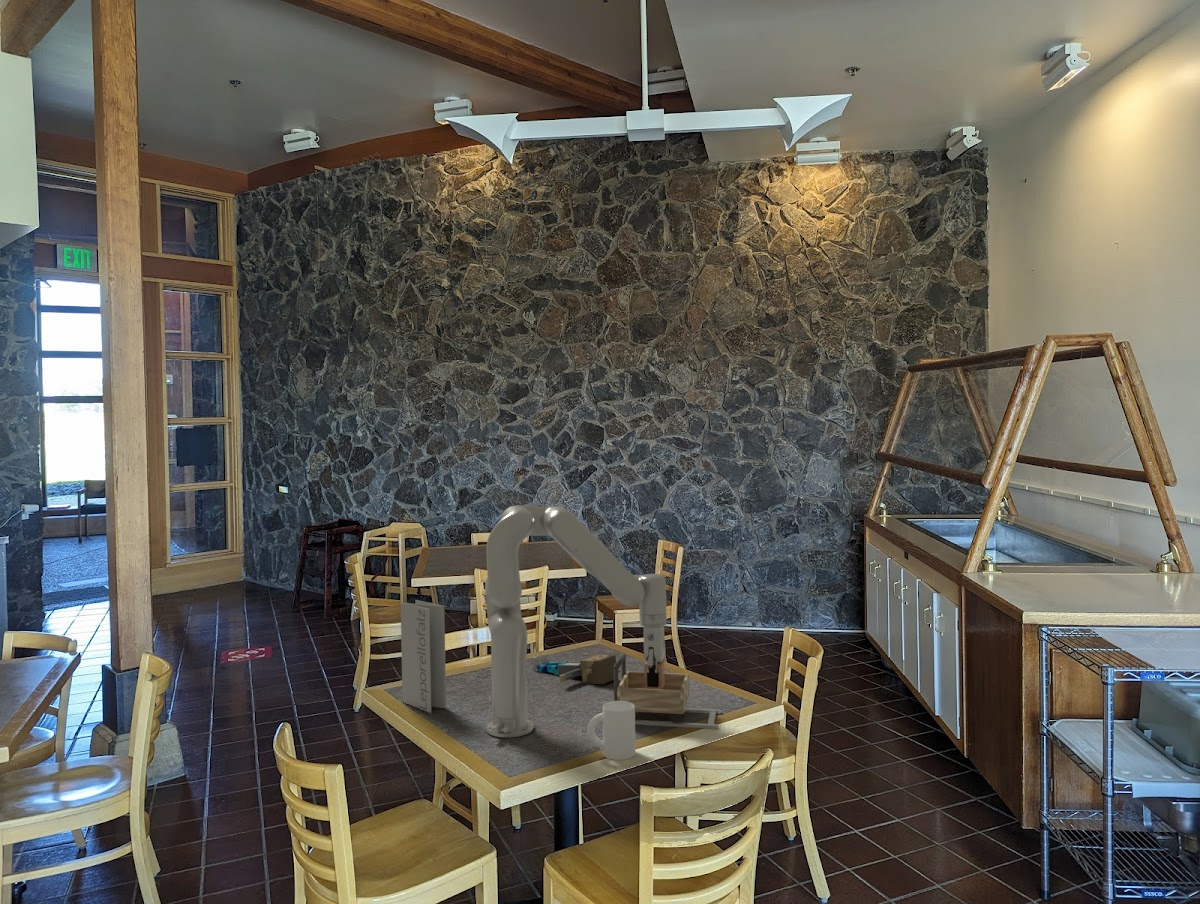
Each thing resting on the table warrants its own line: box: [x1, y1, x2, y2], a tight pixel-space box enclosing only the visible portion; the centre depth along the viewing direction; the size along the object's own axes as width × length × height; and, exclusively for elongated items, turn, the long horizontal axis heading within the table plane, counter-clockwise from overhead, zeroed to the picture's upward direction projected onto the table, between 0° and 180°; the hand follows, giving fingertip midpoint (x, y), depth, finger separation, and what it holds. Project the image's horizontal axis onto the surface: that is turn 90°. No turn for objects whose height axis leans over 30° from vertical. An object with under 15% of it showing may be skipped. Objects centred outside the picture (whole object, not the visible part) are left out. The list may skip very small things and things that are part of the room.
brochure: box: [400, 599, 447, 714], centre depth 241 cm, size 14×6×30 cm, turn 47°
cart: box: [613, 652, 690, 723], centre depth 228 cm, size 16×19×15 cm
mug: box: [586, 700, 636, 761], centre depth 202 cm, size 8×12×12 cm
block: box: [643, 659, 665, 689], centre depth 228 cm, size 5×5×7 cm
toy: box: [531, 653, 617, 685], centre depth 269 cm, size 26×8×30 cm
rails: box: [635, 707, 721, 730], centre depth 227 cm, size 13×26×1 cm, turn 79°
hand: (654, 682), depth 228 cm, fingers closed on block, 5 cm apart
